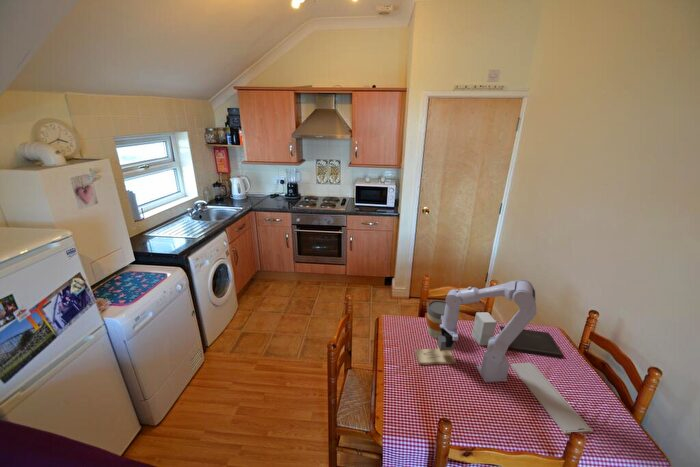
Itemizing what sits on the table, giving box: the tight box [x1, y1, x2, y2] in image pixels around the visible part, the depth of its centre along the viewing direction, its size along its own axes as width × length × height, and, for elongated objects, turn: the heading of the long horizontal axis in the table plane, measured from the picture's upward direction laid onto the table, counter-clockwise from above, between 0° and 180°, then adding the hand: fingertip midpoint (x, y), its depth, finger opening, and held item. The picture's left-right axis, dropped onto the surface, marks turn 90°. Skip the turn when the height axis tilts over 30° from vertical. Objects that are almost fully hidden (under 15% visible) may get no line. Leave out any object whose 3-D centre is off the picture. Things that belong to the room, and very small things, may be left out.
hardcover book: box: [498, 325, 564, 359], centre depth 144 cm, size 16×23×2 cm
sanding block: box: [436, 336, 456, 352], centre depth 131 cm, size 6×4×5 cm, turn 94°
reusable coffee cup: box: [426, 299, 446, 340], centre depth 147 cm, size 13×12×15 cm
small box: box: [471, 311, 498, 346], centre depth 143 cm, size 8×6×13 cm
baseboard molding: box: [509, 361, 597, 435], centre depth 116 cm, size 31×3×12 cm
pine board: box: [413, 348, 457, 366], centre depth 133 cm, size 16×8×1 cm, turn 94°
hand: (446, 343), depth 131 cm, fingers closed on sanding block, 4 cm apart
